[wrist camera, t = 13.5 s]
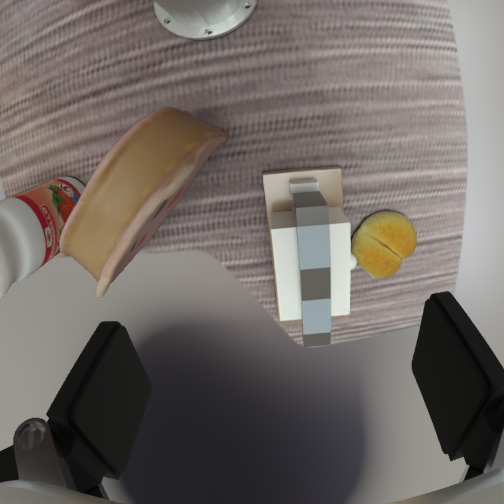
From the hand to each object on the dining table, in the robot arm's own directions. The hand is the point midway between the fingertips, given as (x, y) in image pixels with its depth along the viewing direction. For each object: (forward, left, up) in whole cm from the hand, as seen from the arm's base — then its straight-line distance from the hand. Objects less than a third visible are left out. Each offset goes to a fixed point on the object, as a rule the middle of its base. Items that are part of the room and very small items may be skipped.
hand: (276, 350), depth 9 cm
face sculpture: (-1, -13, -31) cm, 34 cm away
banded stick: (+10, +3, -27) cm, 29 cm away
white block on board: (+10, +3, -31) cm, 33 cm away
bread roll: (+10, +13, -32) cm, 36 cm away
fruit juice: (0, -29, -31) cm, 43 cm away
